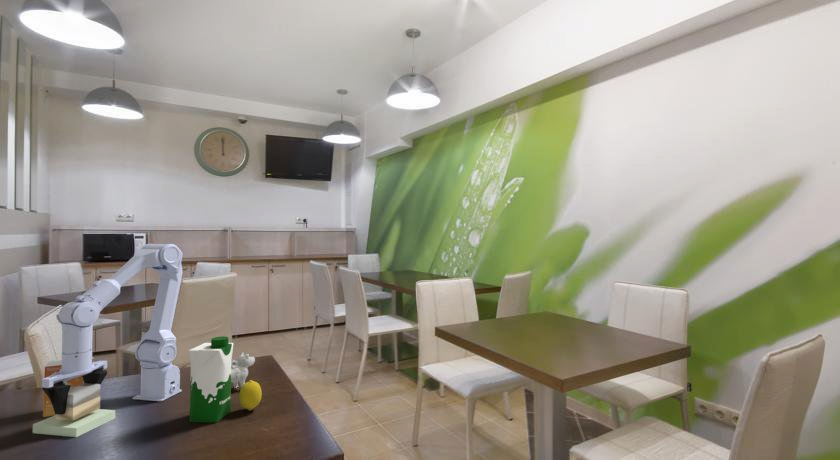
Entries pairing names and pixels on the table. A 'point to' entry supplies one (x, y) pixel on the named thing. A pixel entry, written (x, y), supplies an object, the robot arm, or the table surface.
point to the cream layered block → (81, 401)
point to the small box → (55, 367)
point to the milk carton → (210, 380)
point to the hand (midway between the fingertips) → (76, 407)
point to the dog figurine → (240, 369)
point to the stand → (74, 424)
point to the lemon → (250, 395)
